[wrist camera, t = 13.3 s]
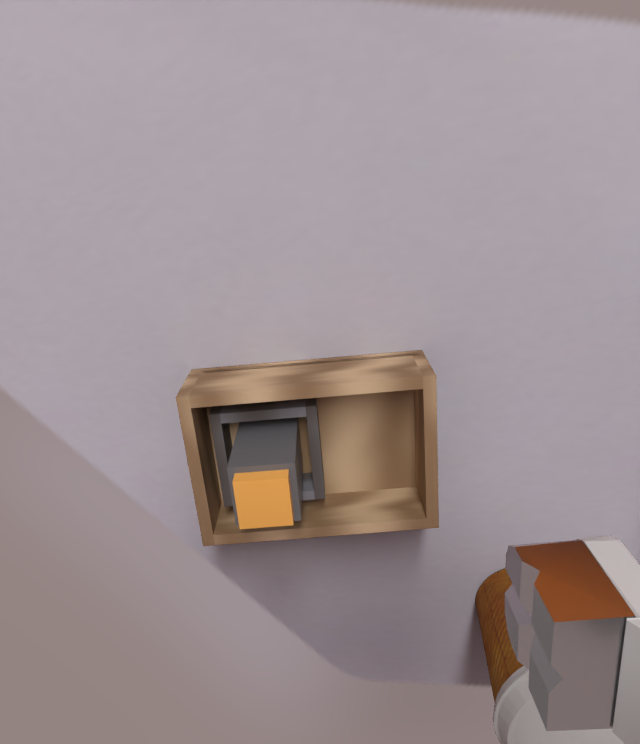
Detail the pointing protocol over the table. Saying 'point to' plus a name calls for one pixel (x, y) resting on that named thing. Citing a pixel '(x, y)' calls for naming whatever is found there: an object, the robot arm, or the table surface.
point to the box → (321, 442)
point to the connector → (266, 473)
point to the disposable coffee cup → (517, 679)
